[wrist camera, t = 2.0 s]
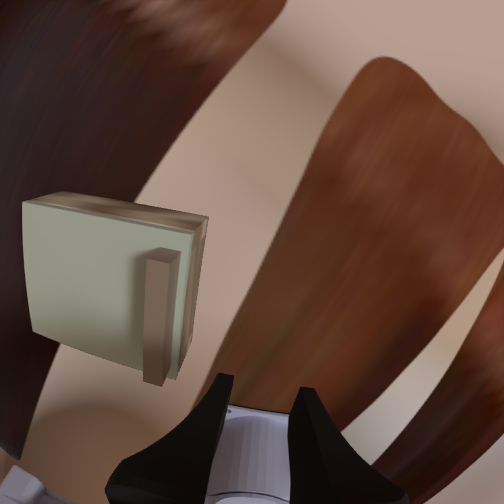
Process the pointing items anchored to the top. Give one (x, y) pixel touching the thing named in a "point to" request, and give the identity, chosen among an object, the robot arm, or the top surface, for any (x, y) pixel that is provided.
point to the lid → (107, 285)
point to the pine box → (158, 218)
